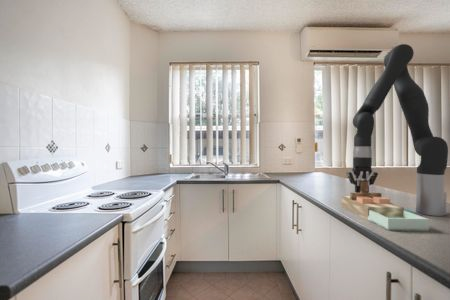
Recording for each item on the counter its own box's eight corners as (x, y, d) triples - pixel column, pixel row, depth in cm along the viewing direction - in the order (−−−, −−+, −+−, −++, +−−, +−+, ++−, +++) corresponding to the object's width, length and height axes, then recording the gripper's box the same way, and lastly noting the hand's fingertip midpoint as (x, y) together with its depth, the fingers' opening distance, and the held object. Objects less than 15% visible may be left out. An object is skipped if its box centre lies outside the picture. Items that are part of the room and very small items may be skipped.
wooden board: (370, 206, 117) (370, 196, 117) (403, 220, 95) (404, 207, 95) (341, 206, 117) (341, 195, 117) (367, 219, 95) (368, 207, 95)
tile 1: (367, 201, 106) (367, 196, 106) (373, 203, 101) (373, 198, 101) (356, 201, 106) (356, 196, 106) (362, 203, 101) (362, 198, 101)
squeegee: (362, 198, 131) (382, 198, 130) (362, 201, 131) (382, 202, 130) (398, 214, 102) (423, 214, 101) (398, 218, 102) (422, 218, 102)
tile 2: (383, 201, 106) (383, 196, 106) (390, 203, 101) (390, 199, 101) (372, 201, 106) (372, 196, 106) (379, 203, 101) (379, 198, 101)
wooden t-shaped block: (372, 197, 115) (372, 180, 115) (381, 200, 108) (381, 182, 108) (344, 196, 115) (345, 180, 115) (352, 199, 108) (352, 182, 108)
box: (403, 220, 95) (404, 210, 95) (429, 230, 83) (429, 219, 83) (367, 219, 95) (367, 209, 95) (388, 230, 83) (388, 218, 83)
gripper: (372, 156, 116) (372, 192, 116) (343, 155, 116) (342, 192, 116) (382, 156, 108) (382, 195, 109) (351, 156, 108) (350, 195, 109)
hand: (361, 193), depth 112 cm, fingers closed on wooden t-shaped block, 3 cm apart
